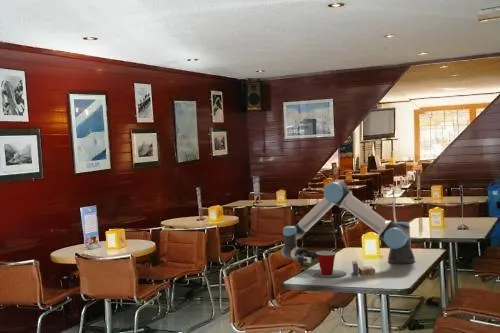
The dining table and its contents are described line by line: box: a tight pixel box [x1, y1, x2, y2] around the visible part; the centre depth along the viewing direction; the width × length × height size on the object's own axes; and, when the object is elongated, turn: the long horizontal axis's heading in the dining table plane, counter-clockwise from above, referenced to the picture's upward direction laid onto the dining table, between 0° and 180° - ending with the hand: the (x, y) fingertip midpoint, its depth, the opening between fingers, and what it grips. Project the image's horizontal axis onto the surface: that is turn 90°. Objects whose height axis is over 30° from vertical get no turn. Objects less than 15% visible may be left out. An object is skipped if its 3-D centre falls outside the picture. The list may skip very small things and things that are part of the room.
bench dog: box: [351, 260, 359, 276], centre depth 302 cm, size 2×8×6 cm, turn 173°
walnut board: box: [358, 265, 376, 276], centre depth 302 cm, size 7×10×3 cm
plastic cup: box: [315, 250, 337, 275], centre depth 303 cm, size 11×11×12 cm
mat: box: [312, 269, 347, 279], centre depth 304 cm, size 18×18×1 cm
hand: (321, 258), depth 310 cm, fingers open, 13 cm apart
